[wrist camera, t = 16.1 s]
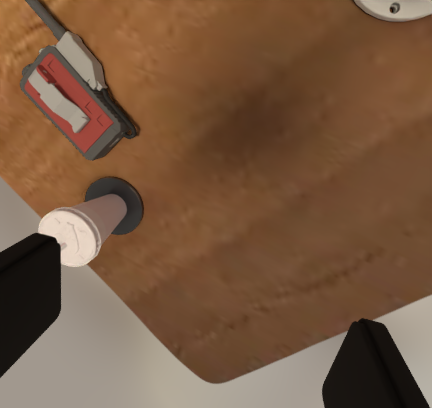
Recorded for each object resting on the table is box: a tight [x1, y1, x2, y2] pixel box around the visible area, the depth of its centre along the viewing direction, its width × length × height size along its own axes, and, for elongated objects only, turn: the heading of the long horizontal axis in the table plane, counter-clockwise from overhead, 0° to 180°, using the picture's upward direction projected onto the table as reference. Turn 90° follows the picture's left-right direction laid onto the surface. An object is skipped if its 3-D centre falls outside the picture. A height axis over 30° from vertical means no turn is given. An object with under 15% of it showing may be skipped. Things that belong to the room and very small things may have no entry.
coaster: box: [85, 177, 144, 235], centre depth 38 cm, size 8×8×1 cm
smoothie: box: [38, 194, 127, 267], centre depth 31 cm, size 6×6×14 cm
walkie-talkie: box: [20, 0, 137, 160], centre depth 31 cm, size 9×4×20 cm
